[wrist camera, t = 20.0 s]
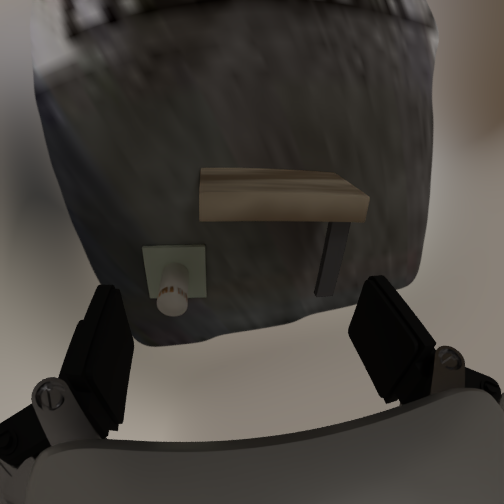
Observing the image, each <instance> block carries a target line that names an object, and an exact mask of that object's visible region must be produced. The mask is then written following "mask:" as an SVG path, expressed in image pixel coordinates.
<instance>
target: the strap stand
mask: <svg viewBox="0 0 504 504" xmlns="http://www.w3.org/2000/svg"><path fill="white" fill-rule="evenodd" d="M369 200H370V197H369V196H367V195H366V194H364V193H363V192H362V191H360V190H359V189H357V188H356V187H355V186H353V185H352V184H350V183H349V182H347V181H346V180H344V179H343V178H341V177H340V176H339V175H337V174H336V173H331V172H319V171H304V170H287V169H263V168H201V174H200V188H199V220H200V222H205V221H324V222H365V218H366V214H367V209H368V204H369Z"/></svg>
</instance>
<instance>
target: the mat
mask: <svg viewBox="0 0 504 504" xmlns="http://www.w3.org/2000/svg"><path fill="white" fill-rule="evenodd" d="M142 251H143V258H144V264H145V271H146V277H147V283H148V289H149V295H150V298H158V292H159V287H160V281H161V276H162V271H163V268H164V267H165V266H166V265H167V264H169V263H174V262H175V263H180V264H182V265H184V266H185V267H186V268H187V269H188V272H189V283H188V298H198V297H207V294H206V263H205V245H159V246H143V247H142Z"/></svg>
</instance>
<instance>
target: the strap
mask: <svg viewBox="0 0 504 504" xmlns="http://www.w3.org/2000/svg"><path fill="white" fill-rule="evenodd" d="M350 224H351V222H329V223H328V228H327V233H326V239H325V244H324V249H323V254H322V258H321V263H320V268H319V272H318V277H317V282H316V286H315V290H314V294H315V296H316V297H326V296H333V293H334V289H335V286H336V282H337V278H338V274H339V270H340V266H341V262H342V258H343V254H344V250H345V246H346V242H347V237H348V233H349V228H350Z"/></svg>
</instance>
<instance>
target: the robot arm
mask: <svg viewBox="0 0 504 504" xmlns="http://www.w3.org/2000/svg"><path fill="white" fill-rule="evenodd" d="M348 334H349V337H350V339H351V341H352V343H353V345H354V347H355V348H356V350H357V352H358V354H359V356H360V358H361V360H362V362H363V364H364V366H365V368H366V370H367V372H368V374H369V376H370V378H371V380H372V382H373V384H374V386H375V388H376V390H377V392H378V394H379V396H380V397H381V398H384V400H385V403H386V404H387V403H391V402H394V401H397V400H398V399H399V401H400V406H398V407H395V408H392V409H389V410H386V411H383V412H380V413H376V414H373V415H370V416H366V417H363V418H359V419H355V420H351V421H347V422H344V423H340V424H335V425H331V426H326V427H322V428H317V429H312V430H307V431H301V432H296V433H289V434H283V435H276V436H268V437H260V438H251V439H242V440H228V441H210V442H149V441H133V440H112V439H107V438H106V437H107V436H108V432H109V430H113V431H118V426H119V424H122V423H123V420H124V412H125V403H126V395H127V388H128V381H129V375H130V369H131V363H132V356H133V351H134V341H133V337H132V334H131V330H130V327H129V324H128V320H127V316H126V313H125V309H124V305H123V301H122V297H121V293H120V290H119V289H115V287H114V285H98V287H97V289H96V291H95V293H94V296H93V298H92V300H91V303H90V305H89V308H88V310H87V313H86V315H85V317H84V320H80V321H79V323H78V325H77V327H76V329H75V332H74V334H73V337H72V340H71V342H70V345H69V348H68V350H67V353H66V356H65V359H64V362H63V365H62V368H61V371H60V374H59V377H58V378H55V377H50V378H46V379H43V380H42V381H40V382H39V383H38V384H37V385H36V386H35V388H34V390H33V392H32V398H31V400H32V404H30V405H29V406H27V407H26V408H24V409H23V410H21V411H19V412H18V413H16V414H15V415H13V416H11V417H10V418H8V419H7V420H5V421H3V422H2V423H0V504H504V393H502V395H501V389H500V387H499V385H498V383H497V382H496V381H495V380H494V379H492V378H491V377H489V376H486V375H484V374H481V373H479V372H476V371H474V370H471V369H469V368H466V367H465V361H464V358H463V356H462V355H461V353H460V352H459V351H457V350H456V349H455V348H453V347H450V346H441V347H439V348H438V349H437V350H435V348H434V346H435V345H436V342H435V340H434V339H433V338H432V336H431V335H430V334H429V332H428V331H427V330H426V328H425V327H424V325H423V324H422V323H421V322H420V320H419V319H418V318H417V316H416V315H415V314H414V312H413V311H412V310H411V309H410V307H409V306H408V305H407V303H406V302H405V301H404V300H403V298H402V297H401V296H400V295H399V293H398V292H397V291H396V290H395V288H394V287H393V286H392V285H391V284H390V282H389V281H388V280H387V279H386V278H385V277H384V276H382V275H379V276H370V277H369V278H368V280H366V281H365V283H364V285H363V288H362V291H361V294H360V297H359V300H358V303H357V306H356V309H355V312H354V315H353V317H352V320H351V323H350V326H349V329H348Z"/></svg>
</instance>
